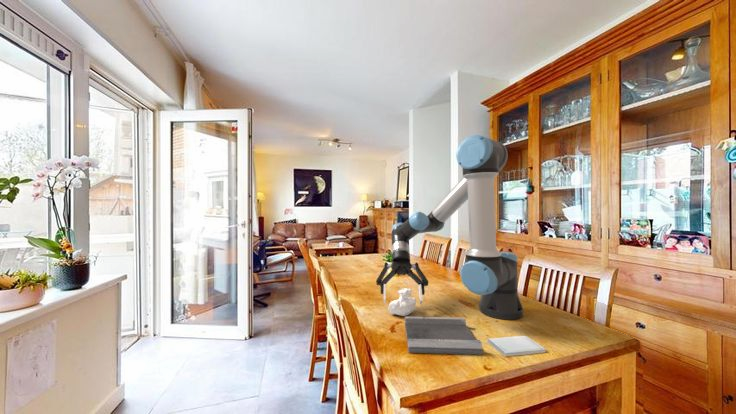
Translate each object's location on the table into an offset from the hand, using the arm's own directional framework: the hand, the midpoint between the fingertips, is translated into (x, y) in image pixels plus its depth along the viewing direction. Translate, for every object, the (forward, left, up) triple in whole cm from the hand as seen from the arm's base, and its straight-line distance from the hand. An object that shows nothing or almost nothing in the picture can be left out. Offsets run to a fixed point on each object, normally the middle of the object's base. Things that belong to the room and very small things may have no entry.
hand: (402, 302), depth 101 cm
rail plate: (-10, +17, -5) cm, 20 cm away
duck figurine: (0, -1, -5) cm, 6 cm away
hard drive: (-31, +21, -6) cm, 38 cm away
